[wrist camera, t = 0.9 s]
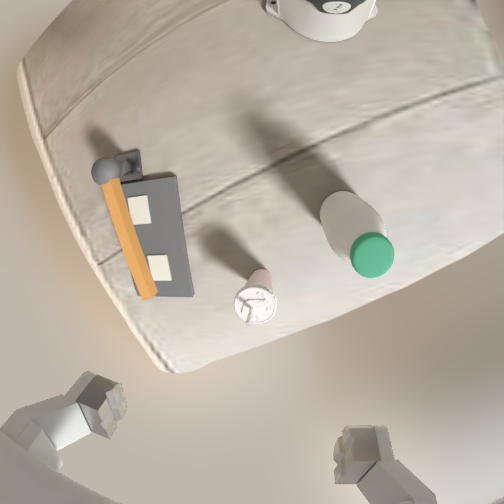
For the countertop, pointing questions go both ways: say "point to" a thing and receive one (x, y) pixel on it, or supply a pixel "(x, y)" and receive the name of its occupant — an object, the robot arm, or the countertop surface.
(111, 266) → the countertop surface
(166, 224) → the tray
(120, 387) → the robot arm
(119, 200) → the strip
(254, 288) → the smoothie
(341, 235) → the milk bottle
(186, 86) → the countertop surface
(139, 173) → the pivot post
